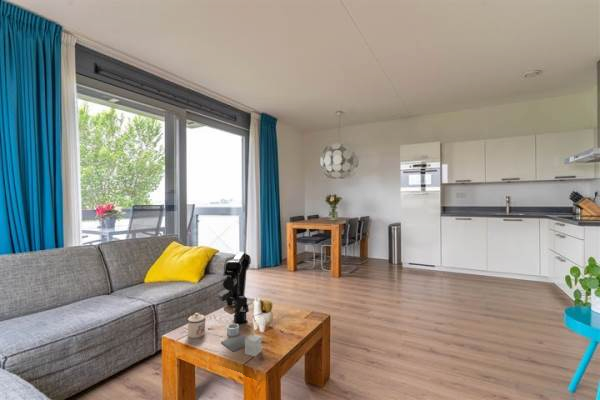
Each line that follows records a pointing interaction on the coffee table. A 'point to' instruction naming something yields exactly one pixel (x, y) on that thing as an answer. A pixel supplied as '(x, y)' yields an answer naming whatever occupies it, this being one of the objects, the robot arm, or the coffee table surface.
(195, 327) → the teacup with lid
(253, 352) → the skincare box
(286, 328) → the coffee table surface
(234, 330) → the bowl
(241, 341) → the mat
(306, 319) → the coffee table surface
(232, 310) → the lid
